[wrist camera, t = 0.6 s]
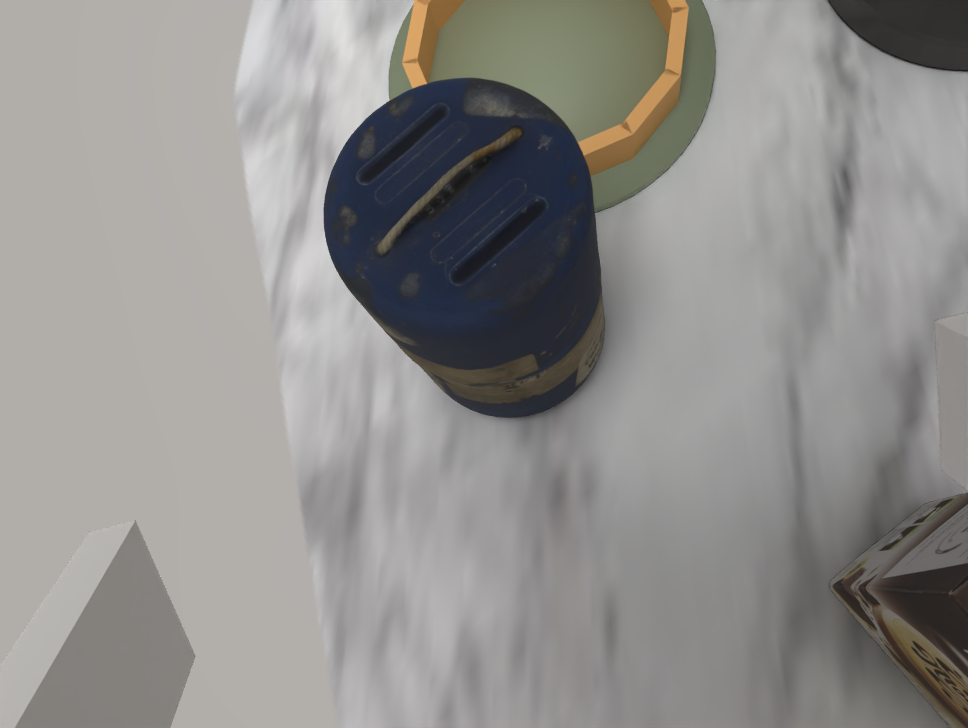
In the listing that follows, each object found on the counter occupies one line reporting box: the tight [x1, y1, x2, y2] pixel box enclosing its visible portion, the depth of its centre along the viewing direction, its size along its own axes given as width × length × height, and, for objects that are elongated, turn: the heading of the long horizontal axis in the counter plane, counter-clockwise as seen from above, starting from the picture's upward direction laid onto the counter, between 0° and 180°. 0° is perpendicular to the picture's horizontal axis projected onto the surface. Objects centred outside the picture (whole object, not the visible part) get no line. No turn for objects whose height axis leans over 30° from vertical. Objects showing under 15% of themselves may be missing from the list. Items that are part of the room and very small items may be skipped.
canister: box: [324, 78, 605, 418], centre depth 36 cm, size 10×10×18 cm
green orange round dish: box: [389, 0, 716, 212], centre depth 46 cm, size 18×18×3 cm
